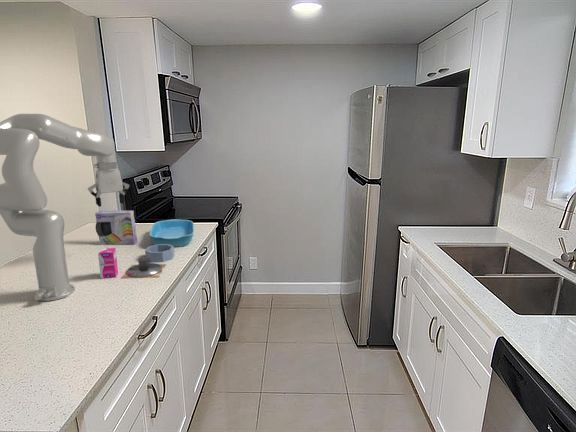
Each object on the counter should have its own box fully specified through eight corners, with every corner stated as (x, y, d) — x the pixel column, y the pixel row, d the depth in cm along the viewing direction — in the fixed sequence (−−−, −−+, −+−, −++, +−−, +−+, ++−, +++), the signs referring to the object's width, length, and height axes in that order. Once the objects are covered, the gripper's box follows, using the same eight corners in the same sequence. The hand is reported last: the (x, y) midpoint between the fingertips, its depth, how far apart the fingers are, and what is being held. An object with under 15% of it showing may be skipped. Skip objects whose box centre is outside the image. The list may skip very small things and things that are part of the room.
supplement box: (100, 279, 148) (97, 253, 145) (103, 274, 154) (100, 248, 151) (116, 278, 150) (113, 252, 147) (118, 273, 155) (115, 247, 152)
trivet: (158, 278, 150) (158, 277, 150) (120, 279, 149) (120, 278, 149) (166, 264, 165) (166, 263, 165) (131, 265, 163) (131, 264, 163)
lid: (157, 276, 151) (156, 265, 150) (122, 278, 149) (121, 266, 148) (165, 264, 164) (164, 253, 163) (132, 265, 163) (131, 254, 161)
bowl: (171, 262, 168) (170, 252, 166) (143, 263, 166) (142, 252, 165) (175, 253, 179) (175, 244, 178) (150, 254, 178) (149, 244, 177)
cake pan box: (97, 245, 190) (93, 212, 186) (101, 242, 195) (97, 209, 191) (134, 245, 191) (131, 212, 186) (138, 242, 196) (135, 210, 191)
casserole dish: (194, 249, 187) (194, 235, 185) (148, 252, 182) (147, 238, 180) (194, 229, 222) (193, 218, 220) (155, 231, 216) (154, 219, 214)
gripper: (88, 168, 152) (92, 208, 156) (130, 166, 164) (133, 203, 168) (82, 166, 157) (87, 205, 161) (124, 164, 169) (127, 201, 173)
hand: (110, 204), depth 165 cm, fingers open, 9 cm apart
